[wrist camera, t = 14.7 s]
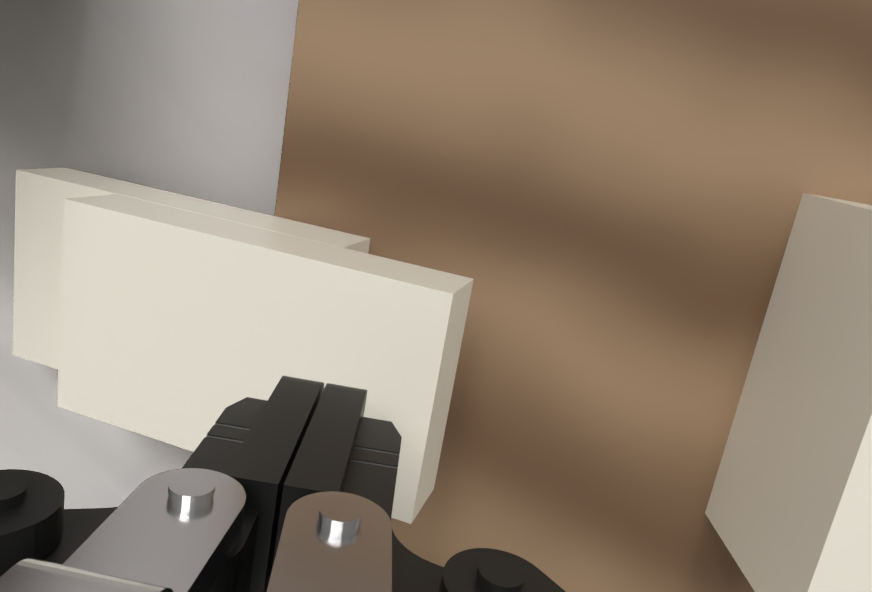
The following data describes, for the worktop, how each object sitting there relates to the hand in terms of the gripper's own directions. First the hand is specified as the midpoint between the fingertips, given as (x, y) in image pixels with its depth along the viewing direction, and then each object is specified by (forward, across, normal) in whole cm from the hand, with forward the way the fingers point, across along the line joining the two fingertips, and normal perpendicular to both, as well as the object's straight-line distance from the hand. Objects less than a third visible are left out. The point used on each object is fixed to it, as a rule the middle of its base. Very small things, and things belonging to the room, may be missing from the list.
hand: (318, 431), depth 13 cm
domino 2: (+2, -2, 0) cm, 3 cm away
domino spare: (+4, -11, -5) cm, 13 cm away
